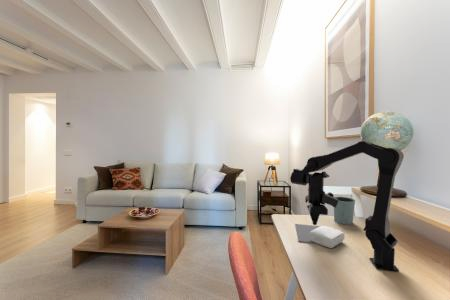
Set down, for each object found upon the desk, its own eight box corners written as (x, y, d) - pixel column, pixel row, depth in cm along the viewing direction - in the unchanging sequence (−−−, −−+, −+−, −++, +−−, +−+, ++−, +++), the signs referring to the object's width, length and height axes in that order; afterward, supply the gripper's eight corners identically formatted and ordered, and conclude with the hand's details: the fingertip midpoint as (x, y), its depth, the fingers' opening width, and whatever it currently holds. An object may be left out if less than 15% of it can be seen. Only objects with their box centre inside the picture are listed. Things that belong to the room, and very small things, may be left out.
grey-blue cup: (351, 219, 120) (351, 197, 120) (357, 226, 111) (358, 202, 110) (330, 217, 123) (331, 196, 122) (334, 224, 113) (335, 200, 113)
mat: (332, 245, 89) (332, 244, 89) (298, 241, 93) (298, 241, 93) (323, 227, 109) (323, 226, 109) (295, 224, 112) (295, 223, 112)
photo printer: (308, 230, 93) (323, 223, 101) (307, 240, 93) (322, 232, 101) (333, 239, 85) (347, 231, 93) (332, 250, 85) (346, 241, 93)
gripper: (343, 193, 81) (342, 236, 82) (331, 184, 100) (330, 219, 100) (310, 191, 84) (309, 232, 85) (305, 182, 102) (304, 216, 103)
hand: (314, 224), depth 93 cm, fingers closed
